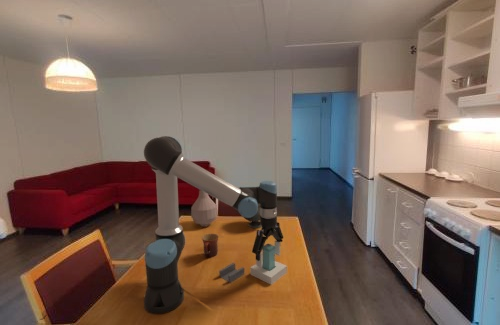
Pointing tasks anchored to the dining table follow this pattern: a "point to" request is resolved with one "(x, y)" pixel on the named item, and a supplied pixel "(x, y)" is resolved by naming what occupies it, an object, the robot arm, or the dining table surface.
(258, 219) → the bowl
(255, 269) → the port
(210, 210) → the vase
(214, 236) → the mug
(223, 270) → the grey u-shaped block
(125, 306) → the dining table surface
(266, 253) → the plug
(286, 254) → the dining table surface
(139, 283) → the dining table surface
